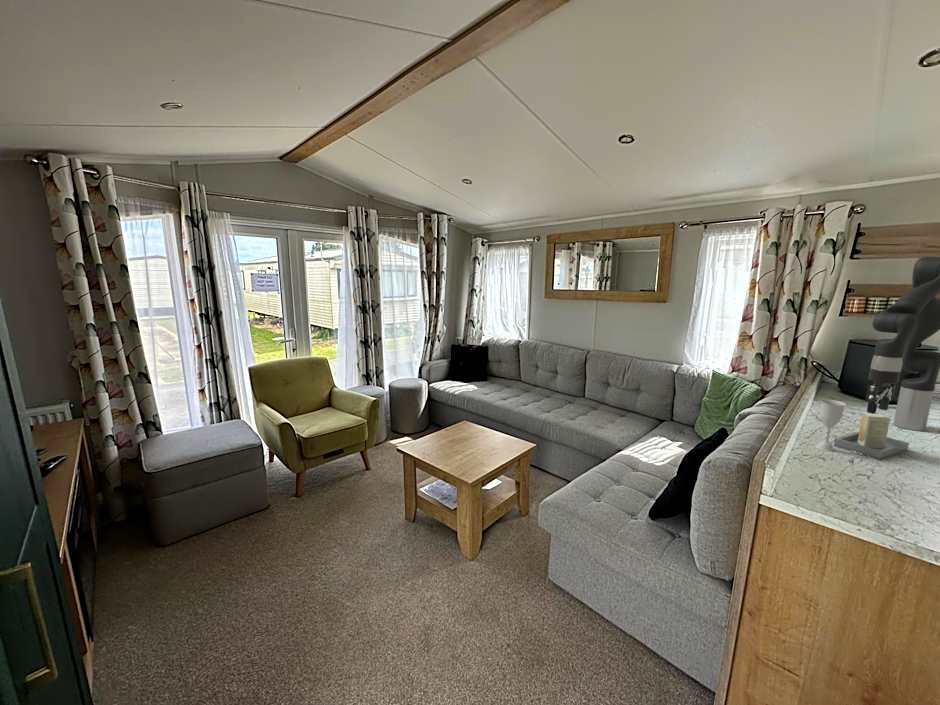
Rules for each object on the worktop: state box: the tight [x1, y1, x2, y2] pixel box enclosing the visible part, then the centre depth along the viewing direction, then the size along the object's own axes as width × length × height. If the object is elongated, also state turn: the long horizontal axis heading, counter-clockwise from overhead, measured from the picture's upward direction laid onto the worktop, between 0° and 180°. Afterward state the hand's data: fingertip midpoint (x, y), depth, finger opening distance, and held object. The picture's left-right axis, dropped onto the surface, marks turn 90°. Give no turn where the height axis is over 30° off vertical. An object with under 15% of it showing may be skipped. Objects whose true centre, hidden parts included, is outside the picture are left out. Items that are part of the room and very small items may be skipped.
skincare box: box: [857, 412, 891, 449], centre depth 143 cm, size 6×4×12 cm
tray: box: [833, 431, 910, 461], centre depth 144 cm, size 20×13×3 cm, turn 113°
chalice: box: [815, 398, 847, 452], centre depth 142 cm, size 7×7×18 cm
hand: (877, 411), depth 142 cm, fingers open, 8 cm apart
